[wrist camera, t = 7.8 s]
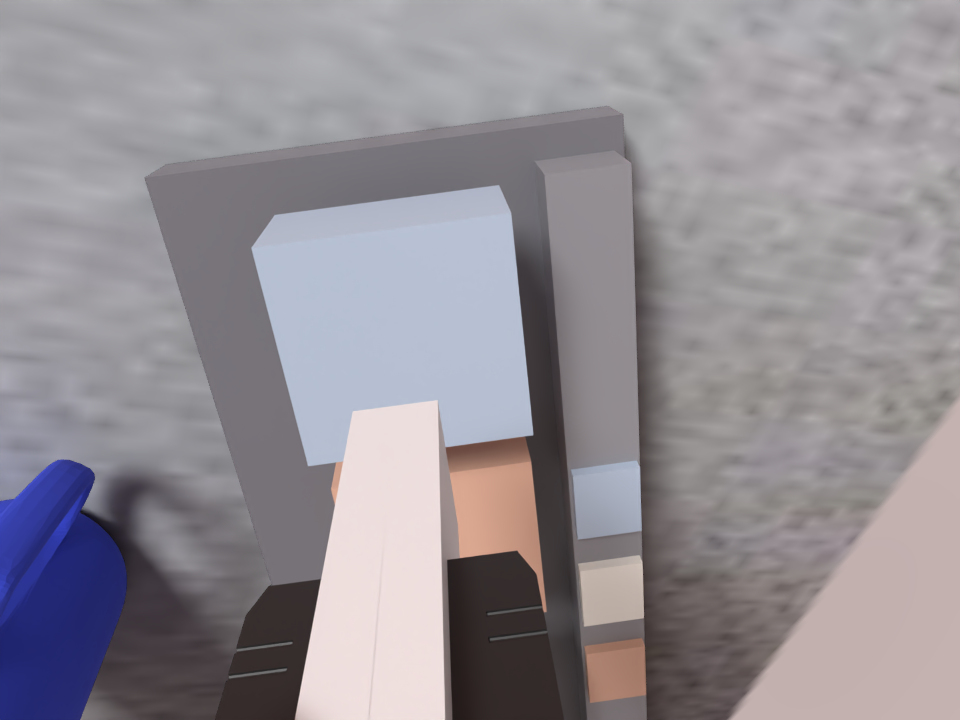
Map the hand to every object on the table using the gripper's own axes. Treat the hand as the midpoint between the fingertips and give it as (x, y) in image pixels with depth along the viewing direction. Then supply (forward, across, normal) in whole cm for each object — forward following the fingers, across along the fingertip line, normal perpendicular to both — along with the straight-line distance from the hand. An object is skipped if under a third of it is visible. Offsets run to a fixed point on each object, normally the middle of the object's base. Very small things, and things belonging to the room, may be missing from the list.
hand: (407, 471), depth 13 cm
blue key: (+8, 0, 0) cm, 8 cm away
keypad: (+13, 0, -12) cm, 18 cm away
